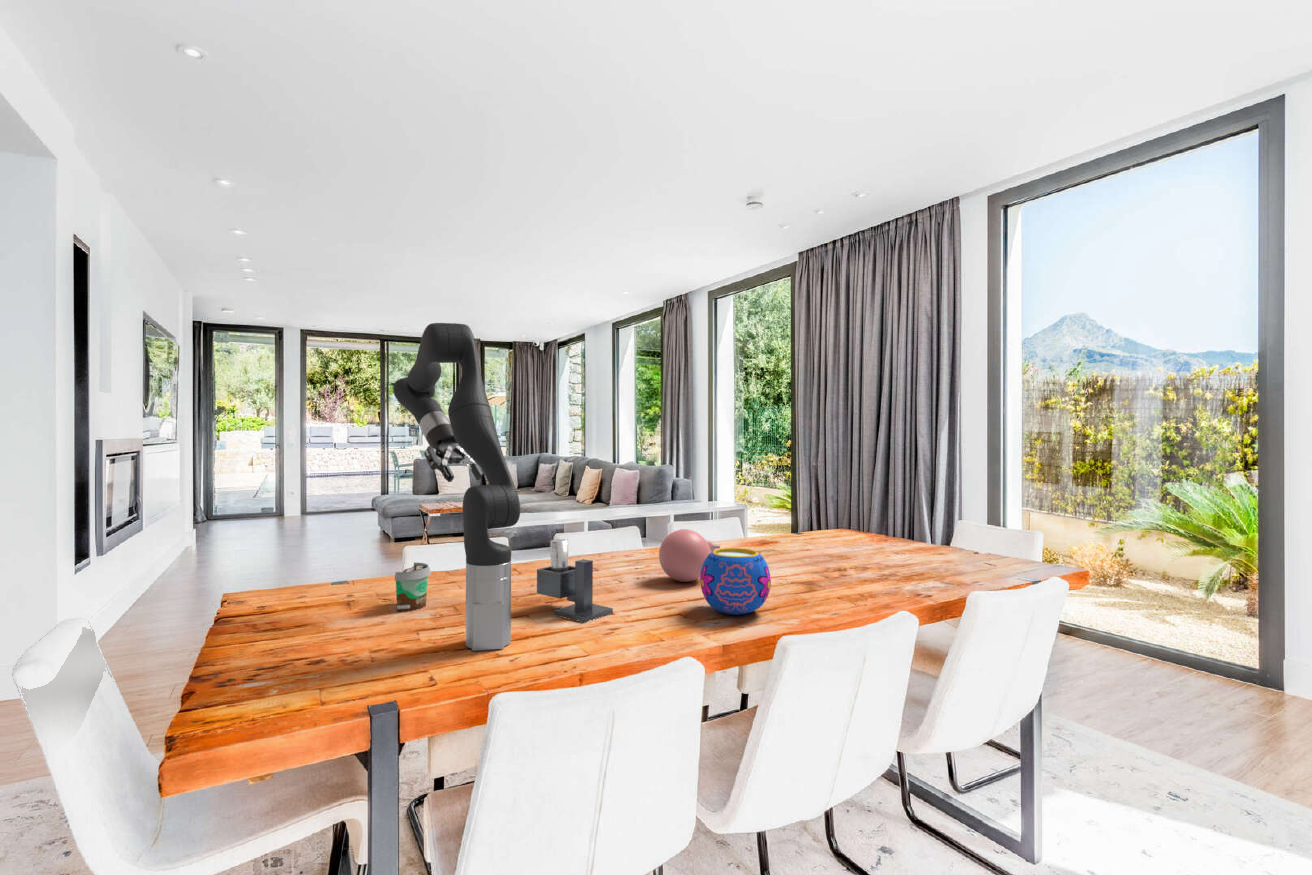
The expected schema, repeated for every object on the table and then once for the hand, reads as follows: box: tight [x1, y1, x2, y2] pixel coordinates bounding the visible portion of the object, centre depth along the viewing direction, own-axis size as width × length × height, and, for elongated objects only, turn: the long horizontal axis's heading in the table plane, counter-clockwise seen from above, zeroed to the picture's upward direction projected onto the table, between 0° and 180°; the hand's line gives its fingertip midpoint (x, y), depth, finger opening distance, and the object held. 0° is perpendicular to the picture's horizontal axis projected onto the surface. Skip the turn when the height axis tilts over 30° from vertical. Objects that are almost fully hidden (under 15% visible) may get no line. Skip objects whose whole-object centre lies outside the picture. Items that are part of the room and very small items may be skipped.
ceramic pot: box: [699, 547, 772, 616], centre depth 159 cm, size 18×18×15 cm
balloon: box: [658, 529, 721, 583], centre depth 192 cm, size 15×20×15 cm
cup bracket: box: [536, 558, 614, 623], centre depth 158 cm, size 17×10×13 cm, turn 54°
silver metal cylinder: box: [549, 538, 569, 573], centre depth 161 cm, size 4×4×12 cm
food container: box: [394, 562, 432, 613], centre depth 162 cm, size 12×6×10 cm, turn 179°
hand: (466, 478), depth 161 cm, fingers open, 8 cm apart
